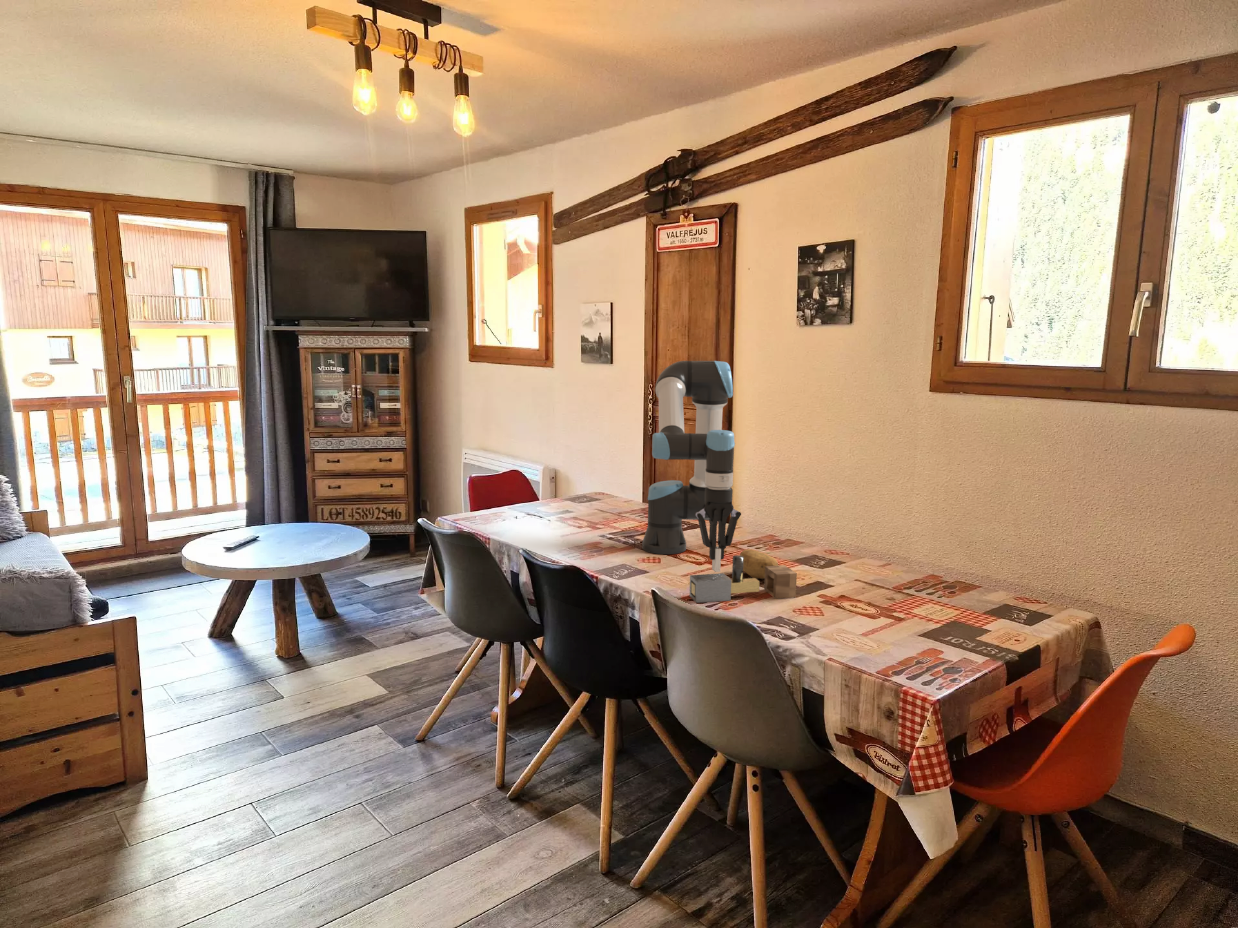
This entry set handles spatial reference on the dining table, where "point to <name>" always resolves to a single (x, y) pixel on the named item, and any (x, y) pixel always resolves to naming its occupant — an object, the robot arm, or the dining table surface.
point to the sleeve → (711, 588)
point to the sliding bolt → (738, 579)
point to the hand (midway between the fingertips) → (716, 570)
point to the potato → (756, 563)
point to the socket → (780, 581)
